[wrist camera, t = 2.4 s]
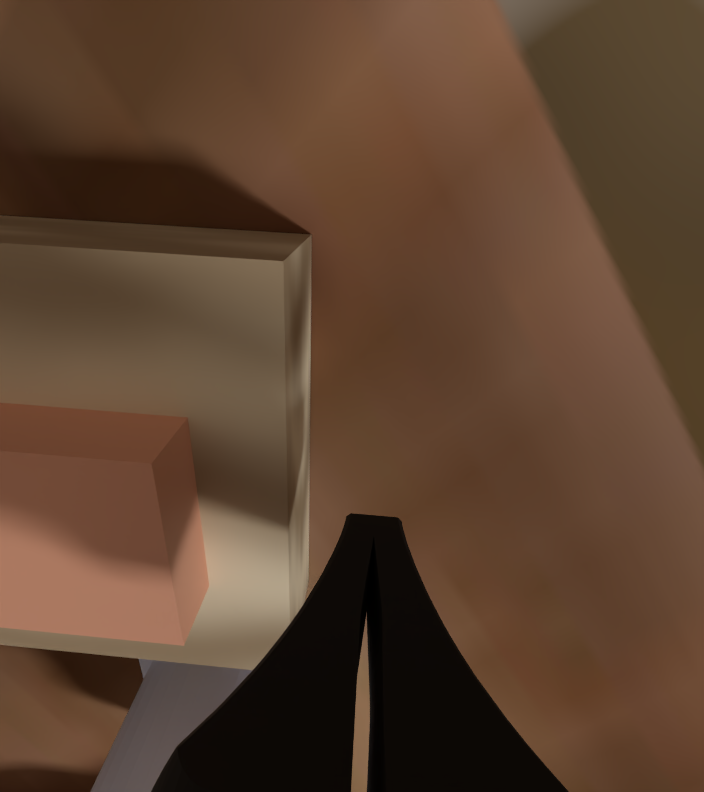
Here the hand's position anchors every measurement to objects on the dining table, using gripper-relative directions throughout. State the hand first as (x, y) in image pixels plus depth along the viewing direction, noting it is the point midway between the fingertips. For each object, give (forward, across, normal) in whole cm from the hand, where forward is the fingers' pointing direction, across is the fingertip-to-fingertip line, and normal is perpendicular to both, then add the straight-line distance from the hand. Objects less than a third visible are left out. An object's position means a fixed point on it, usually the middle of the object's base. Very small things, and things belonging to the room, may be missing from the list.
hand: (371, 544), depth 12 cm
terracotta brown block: (+1, +9, 0) cm, 9 cm away
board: (+5, +9, 0) cm, 11 cm away
